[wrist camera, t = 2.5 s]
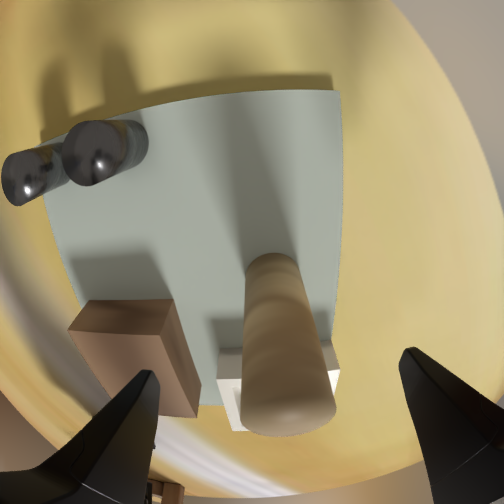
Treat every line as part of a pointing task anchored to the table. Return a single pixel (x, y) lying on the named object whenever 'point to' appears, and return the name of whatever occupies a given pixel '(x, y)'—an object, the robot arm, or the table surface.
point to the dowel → (281, 353)
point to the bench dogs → (75, 159)
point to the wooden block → (168, 492)
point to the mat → (212, 213)
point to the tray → (232, 372)
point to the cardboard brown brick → (139, 349)
